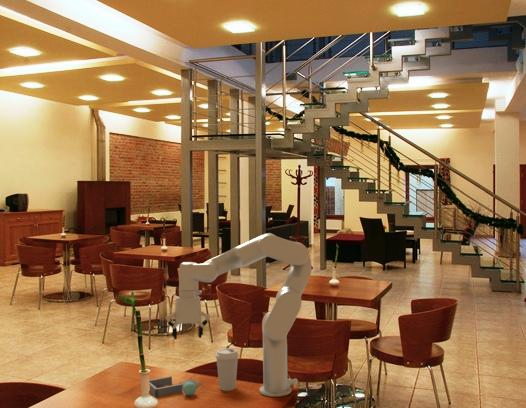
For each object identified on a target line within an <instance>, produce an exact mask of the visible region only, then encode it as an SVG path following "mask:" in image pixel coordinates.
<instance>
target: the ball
mask: <svg viewBox="0 0 526 408" xmlns="http://www.w3.org/2000/svg"><path fill="white" fill-rule="evenodd" d="M182 391H183V393H184V395H187V396H192V395H194V394H195V393H196V391H197V388H196V386H195V384H194V383H193V382H187V383H186V384H185V385H184V387H183V389H182Z"/></svg>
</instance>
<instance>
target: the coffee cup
mask: <svg viewBox="0 0 526 408" xmlns="http://www.w3.org/2000/svg"><path fill="white" fill-rule="evenodd" d="M239 357H240V355H239V352H238V350H237V349H235V348H231V347H230V348H229V347H228V348H221V349H218V350H216V353H215V355H214V358H216V367H217V376H218V377H217V378H218V386H219V387H218V388H219V390H220V391H222V390H223V392H230V390H231V391H234V390H235V389H237V387H236V386H237V385H236V384H237V372H238V359H239ZM233 389H234V390H233Z"/></svg>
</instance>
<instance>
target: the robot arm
mask: <svg viewBox="0 0 526 408" xmlns="http://www.w3.org/2000/svg"><path fill="white" fill-rule="evenodd" d="M267 257H268V258H271V259H273V260H277V261H278V262H279V261H280V262H282V263H286V264H289V270H288V272H287V275H286V277H285V278H284V281H283V283H282V284H281V286H280V288H279V290H278V291H277V293H276V296H275V302H274V305H273V307H272V308H271V310H269V311H268V312H266V313H265V314H264V316H263V318H262V321H261V328H262V329H261V331H262V372H263V373H262V377H263V383H262V385H261V386H260V387H259V393H260V394H261V395H263V396H266V397H272V398H274V397H275V398H277V397H278V398H279V397H285V396H288V395H290V394H291V393H292V387H291V386H292V385H296V384H298V383H299V380H298V379H297V378H291V377H290V378H288V339H287V337H288V336H287V335H288V333H289V332H290V330H291V328H292V327H293V324H294V322H295V321H296V319H297V317H298V316H299V315H298V314H299V312H301V311H300V310H301V308H302V303H303V302H302V295H303V293H304V291H305V289H306V287H307V284H308V283H309V280H310V277H311V274H312V260H311V259H312V258H311V256H310V252H309V249H308V248H307V247H306V245H304V244H303V243H301V242H300V241H299V242H298V241H292V240H290V239H289V240H288V239H285V238H282V237H280V236H277V235H275V234H273V233H271V232H268V233H263V234H261V235H259V236H256V237H255V238H252V239H250V240H248V241H246V242H244V243H242V244H239V245H237V246H235V247H233V248H231V249H230V250H227V251H225V252H223V253H221V254H219V255H217V256H215V257H212V258H210V259H208V260H206V261H204V262H203V263H197V262H196V261H195V262H193V261H183V262H181V263H180V264H179V271H178V272H179V277H178V278H179V279H178V280H179V281H178V282H179V283H178V296H176V299H175V304H174V305H175V306H174V312H172V313H171V314H168V315H167V316H165V320H166V322H167V323H168V325H169V326H170V327H171V328H172V334H171V335H172V338H174V340H177V336H178V335H177V334H178V329H177V327H178V326H179V325H182V324H183V325H184V324H198V327H197V328H198V329H197V330H198V331H197V332H198V333H197V334H198V335H197V336H198V338H199V339H202V336H203V335H204V327H205V325H207V324H208V322H209V320H210V318H211V315H209V314H207V313H206V312H204V311H202V303H201V298H200V295H202V294H203V290H200V289H199V282H201V283H212V282H214V281H215V280H216V279H217V277H219V276H220V275H223V274H225V273H227V272H230V271H232V270H235V269H239V268H240V269H241V268H245V267H248V266H251V264H254V263H256V262H258V261H260V260H262V259H264V258H267ZM202 317H204V320H203V321H202ZM172 318H174V322H172V321H171V319H172Z"/></svg>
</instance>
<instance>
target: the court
mask: <svg viewBox="0 0 526 408" xmlns="http://www.w3.org/2000/svg"><path fill="white" fill-rule="evenodd" d="M148 380H149V385H150V392H149V393H150V394H151V395H152V396H154V397H155V398H160V397H165V396H169V395H174V394H179V393H184V391H183V389H182V384H180V383H178V384H174V385H173V377H172V376H170V375H169V376H165V377H159V378H154V379H153V378H152V379H148ZM164 385H167V387H165V386H164Z"/></svg>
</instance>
